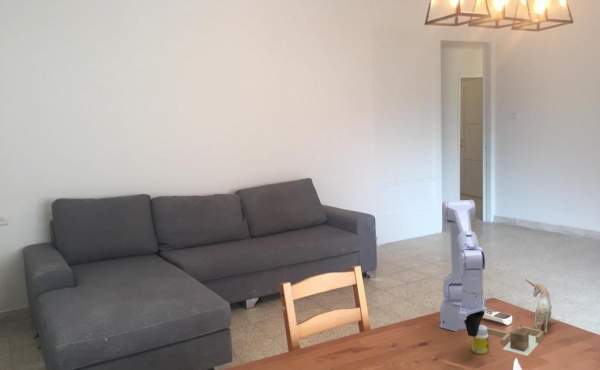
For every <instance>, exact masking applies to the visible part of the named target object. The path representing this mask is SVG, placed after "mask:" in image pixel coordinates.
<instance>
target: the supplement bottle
mask: <svg viewBox="0 0 600 370" xmlns="http://www.w3.org/2000/svg"><path fill="white" fill-rule="evenodd" d="M489 343H490V342H489V334H488V333H487V326H486V325H483V324H480V325H479V329H478V333H477V336H476V337H473V336H471V352H472V353H474V354H477V355H487V354H489V350H490V349H489Z"/></svg>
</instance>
